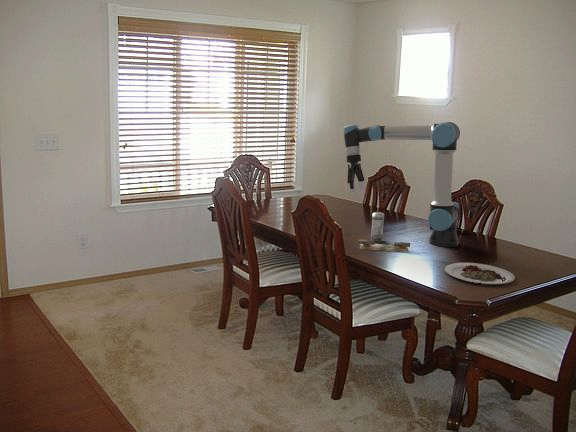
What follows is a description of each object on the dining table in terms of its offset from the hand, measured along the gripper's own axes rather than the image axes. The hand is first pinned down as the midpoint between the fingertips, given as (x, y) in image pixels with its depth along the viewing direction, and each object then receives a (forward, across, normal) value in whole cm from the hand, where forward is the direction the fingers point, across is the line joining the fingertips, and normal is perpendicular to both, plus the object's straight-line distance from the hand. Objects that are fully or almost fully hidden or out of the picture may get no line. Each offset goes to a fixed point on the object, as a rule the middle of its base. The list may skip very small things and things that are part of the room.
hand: (357, 194), depth 328 cm
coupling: (+26, -3, +7) cm, 27 cm away
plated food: (+41, +32, +64) cm, 82 cm away
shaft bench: (+28, +12, +15) cm, 34 cm away
